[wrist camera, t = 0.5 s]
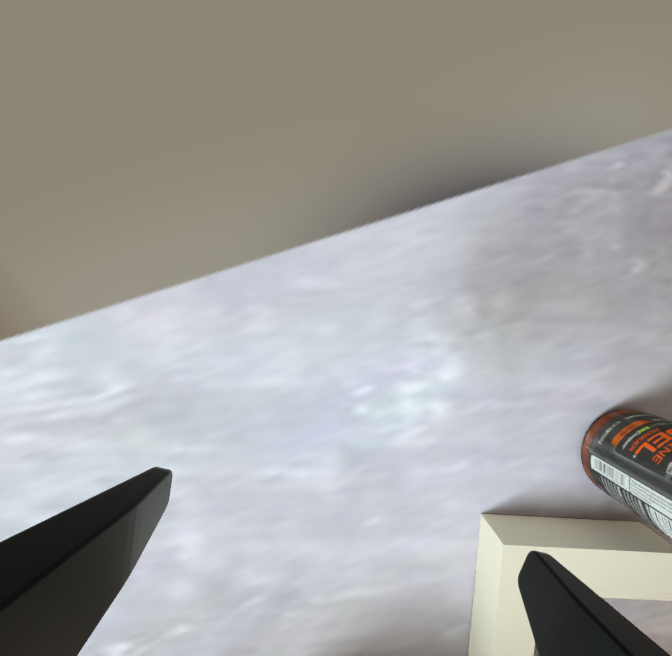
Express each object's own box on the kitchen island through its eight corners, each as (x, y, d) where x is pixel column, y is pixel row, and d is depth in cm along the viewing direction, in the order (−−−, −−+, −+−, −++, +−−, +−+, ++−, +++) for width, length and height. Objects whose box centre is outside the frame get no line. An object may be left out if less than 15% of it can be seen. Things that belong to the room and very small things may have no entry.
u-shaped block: (616, 709, 24) (656, 767, 21) (463, 703, 24) (482, 760, 21) (639, 521, 23) (685, 554, 20) (481, 513, 23) (503, 544, 20)
